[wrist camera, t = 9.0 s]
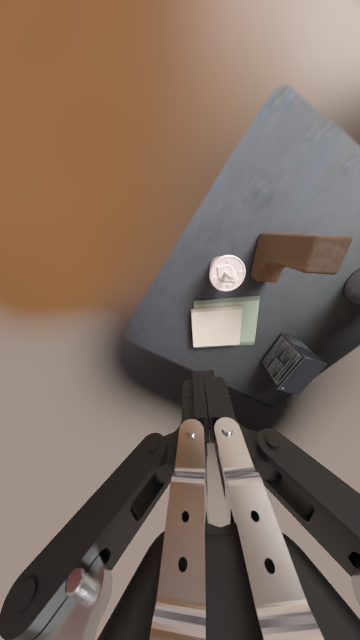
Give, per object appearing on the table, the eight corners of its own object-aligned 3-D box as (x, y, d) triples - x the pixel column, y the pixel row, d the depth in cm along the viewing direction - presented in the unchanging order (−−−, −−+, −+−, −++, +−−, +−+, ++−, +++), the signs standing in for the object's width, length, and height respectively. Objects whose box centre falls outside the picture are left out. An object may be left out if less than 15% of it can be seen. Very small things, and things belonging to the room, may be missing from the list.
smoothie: (216, 243, 38) (232, 249, 26) (238, 261, 40) (264, 275, 27) (198, 269, 40) (204, 285, 28) (220, 284, 42) (235, 307, 29)
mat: (259, 295, 43) (260, 296, 43) (253, 343, 49) (254, 344, 49) (193, 300, 44) (193, 301, 44) (196, 347, 50) (196, 348, 50)
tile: (190, 308, 45) (239, 305, 44) (192, 342, 49) (237, 339, 48) (191, 312, 42) (242, 309, 42) (193, 347, 47) (239, 344, 46)
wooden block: (268, 277, 41) (323, 307, 25) (249, 276, 41) (291, 305, 25) (280, 234, 37) (355, 236, 21) (259, 233, 37) (317, 234, 21)
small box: (278, 367, 53) (299, 397, 44) (259, 361, 52) (276, 390, 43) (301, 339, 48) (329, 365, 39) (280, 332, 48) (304, 357, 38)
